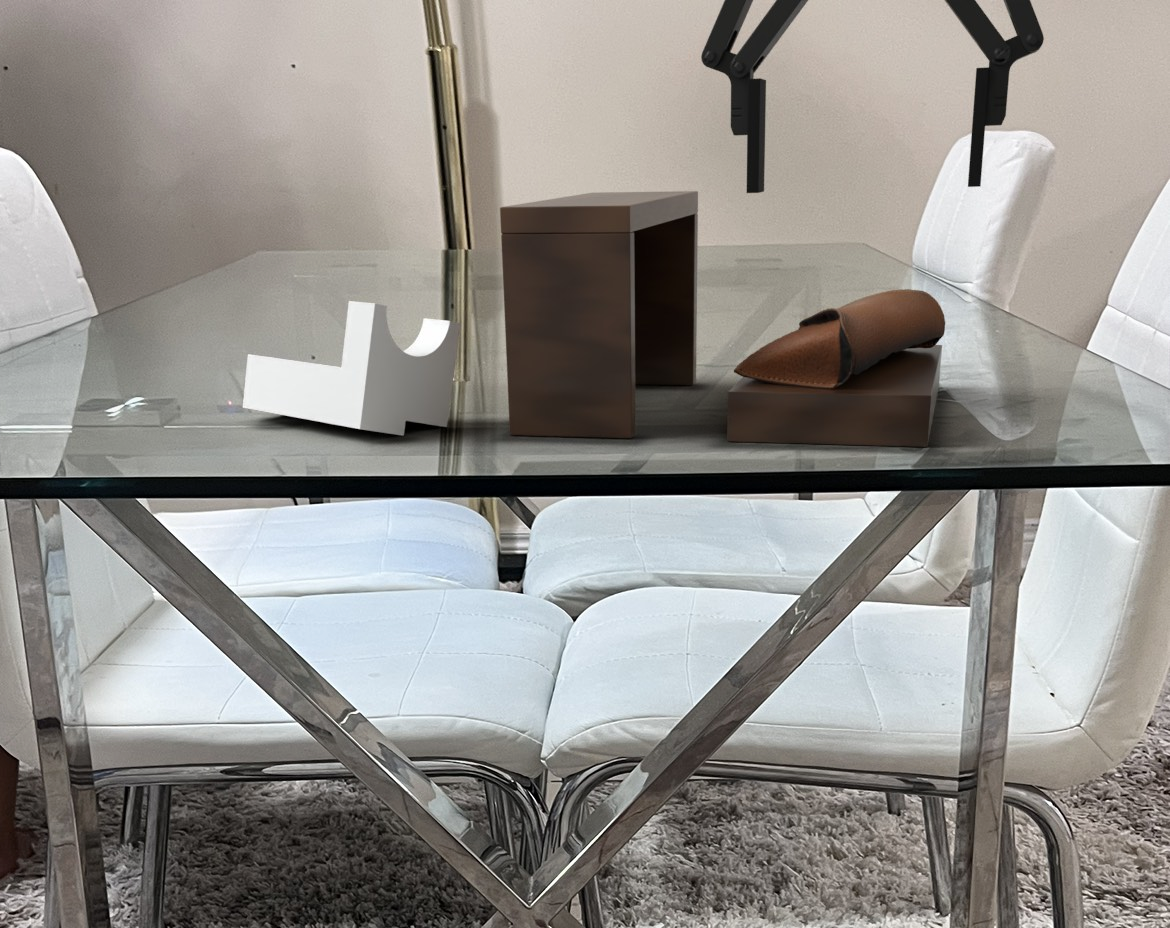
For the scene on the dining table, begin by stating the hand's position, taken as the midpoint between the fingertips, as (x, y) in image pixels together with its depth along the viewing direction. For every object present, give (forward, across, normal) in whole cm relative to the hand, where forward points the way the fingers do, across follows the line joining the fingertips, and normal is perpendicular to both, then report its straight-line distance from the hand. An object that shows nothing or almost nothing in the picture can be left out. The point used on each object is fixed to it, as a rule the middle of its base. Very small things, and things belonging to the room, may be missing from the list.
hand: (862, 190), depth 88 cm
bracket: (+14, +33, +8) cm, 36 cm away
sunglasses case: (+11, +1, 0) cm, 11 cm away
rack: (+14, +8, 0) cm, 16 cm away
